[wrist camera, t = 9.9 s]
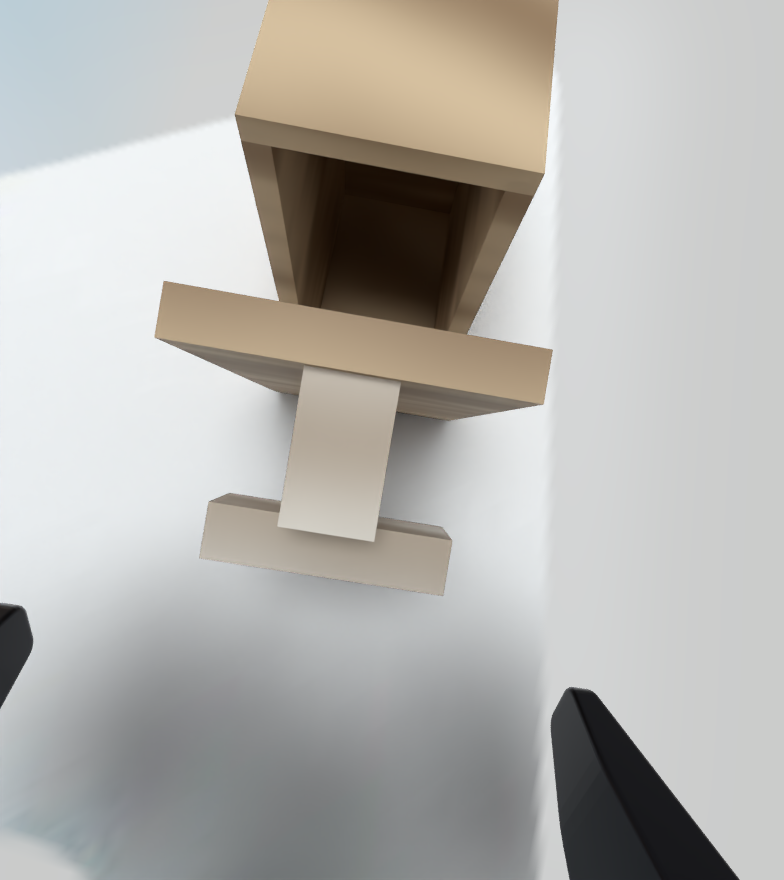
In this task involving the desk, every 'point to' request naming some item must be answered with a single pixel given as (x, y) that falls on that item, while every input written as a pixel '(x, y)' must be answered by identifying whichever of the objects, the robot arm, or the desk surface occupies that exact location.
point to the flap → (342, 427)
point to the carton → (396, 149)
